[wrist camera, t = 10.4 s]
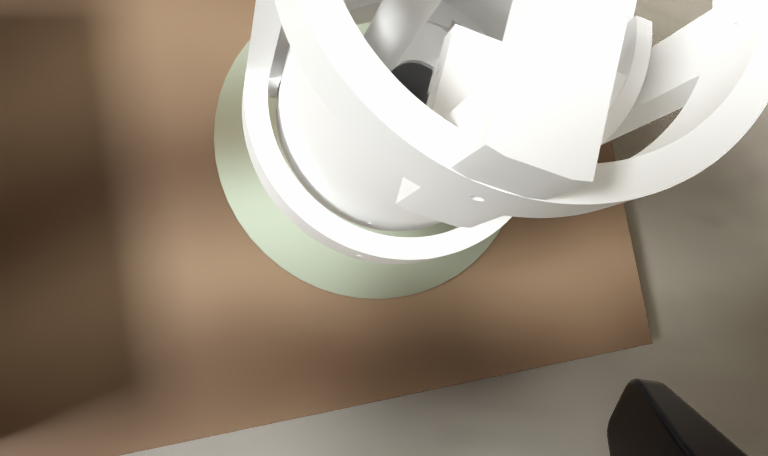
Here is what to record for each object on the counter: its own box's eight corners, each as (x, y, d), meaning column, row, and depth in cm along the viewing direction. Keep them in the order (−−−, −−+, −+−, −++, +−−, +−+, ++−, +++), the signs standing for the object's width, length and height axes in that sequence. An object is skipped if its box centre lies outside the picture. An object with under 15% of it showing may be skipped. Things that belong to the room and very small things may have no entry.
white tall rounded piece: (203, 240, 21) (188, 42, 6) (273, 27, 22) (392, -540, 8) (425, 306, 22) (835, 269, 8) (477, 101, 23) (909, -261, 9)
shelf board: (627, 342, 25) (793, 348, 18) (-52, 483, 20) (-203, 573, 12) (553, -25, 27) (680, -154, 20) (-103, 9, 21) (-265, -156, 14)
